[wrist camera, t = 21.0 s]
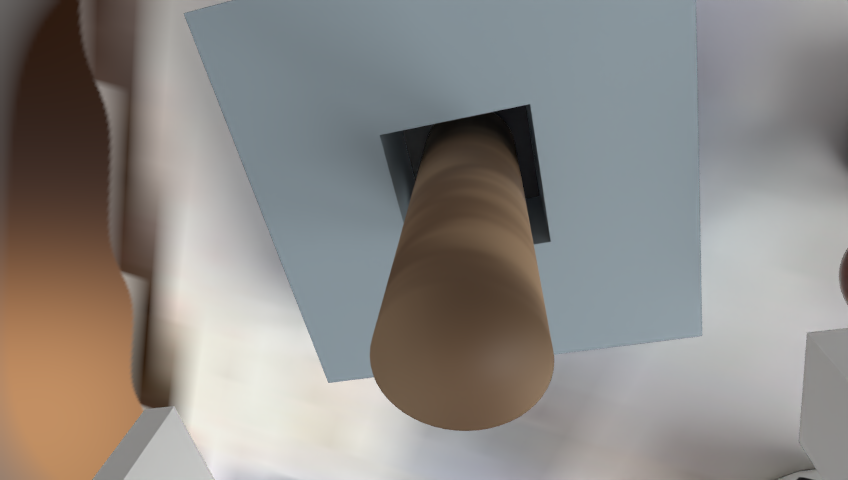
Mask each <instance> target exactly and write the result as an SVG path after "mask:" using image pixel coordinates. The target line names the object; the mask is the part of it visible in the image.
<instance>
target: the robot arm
mask: <svg viewBox="0 0 848 480" xmlns="http://www.w3.org/2000/svg"><path fill="white" fill-rule="evenodd" d="M799 443H800V445H801V446H802V448H803V449H804V451H805V452H806V454H807V456H808V457H809V459H810V460H811V462H812V463H813V465H814V467H815V468H816V470H817V471H818V473H819V474H820V476H821V478H822V479H823V480H848V328H844V329H835V330H827V331H818V332H809V333H807V340H806V353H805V366H804V380H803V393H802V406H801V419H800V432H799ZM92 480H215V479H214V477H213V476H212V474H211V472H210V470H209V468H208V467H207V465H206V463H205V461H204V459H203V457H202V456H201V454H200V452H199V450H198V448H197V447H196V445H195V443H194V441H193V439H192V438H191V436H190V434H189V432H188V430H187V428H186V427H185V425H184V423H183V421H182V419H181V418H180V416H179V414H178V412H177V410H176V408H175V407H174V406H171V407H163V408H154V409H146V410H144V411H143V413H142V414H141V415H140V417H139V418H138V420H137V421H136V422H135V423H134V425H133V426H132V428H131V429H130V430H129V431H128V433H127V434H126V435H125V437H124V438H123V439H122V441H121V442H120V443H119V445H118V446H117V448H116V449H115V450H114V451H113V453H112V454H111V455H110V457H109V458H108V459H107V461H106V462H105V463H104V465H103V466H102V467H101V469H100V470H99V471H98V473H97V474H96V475H95V477H94V478H93V479H92Z"/></svg>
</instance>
